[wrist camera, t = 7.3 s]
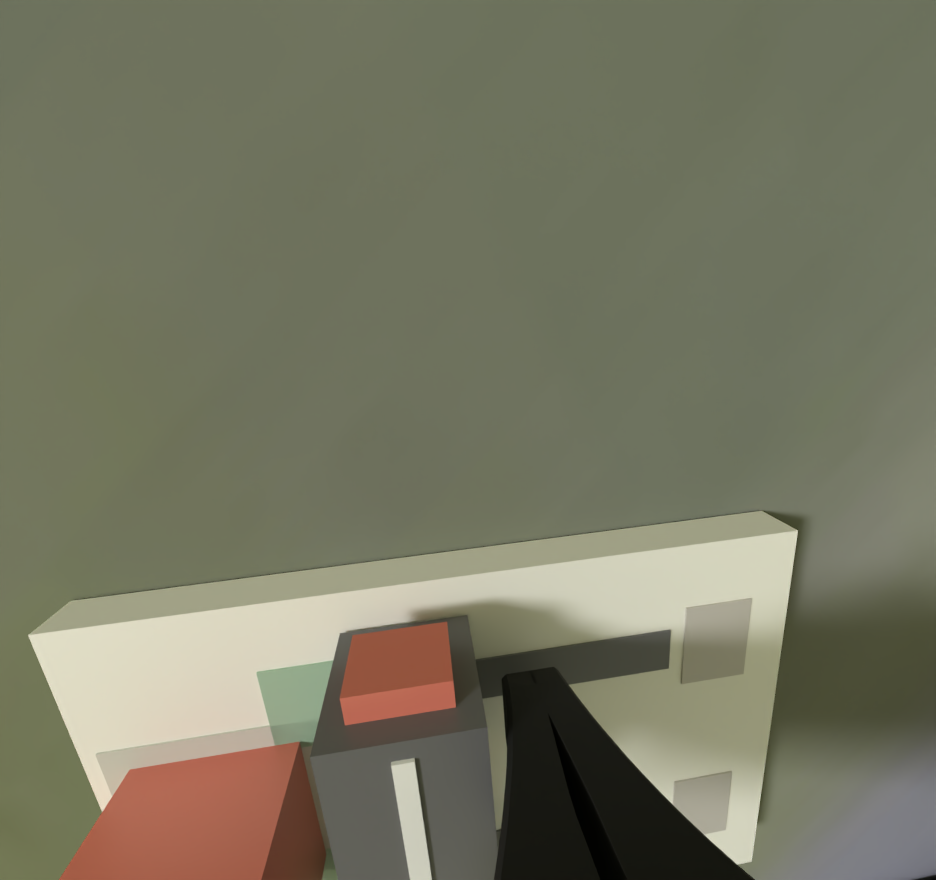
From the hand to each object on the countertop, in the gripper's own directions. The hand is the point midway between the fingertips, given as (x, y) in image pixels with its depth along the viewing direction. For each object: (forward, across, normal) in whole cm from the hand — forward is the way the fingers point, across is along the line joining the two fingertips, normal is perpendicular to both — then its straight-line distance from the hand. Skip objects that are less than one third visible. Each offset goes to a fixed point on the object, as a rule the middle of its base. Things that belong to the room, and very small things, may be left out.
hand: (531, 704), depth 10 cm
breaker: (+1, +3, 0) cm, 3 cm away
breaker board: (+2, +2, +3) cm, 4 cm away
